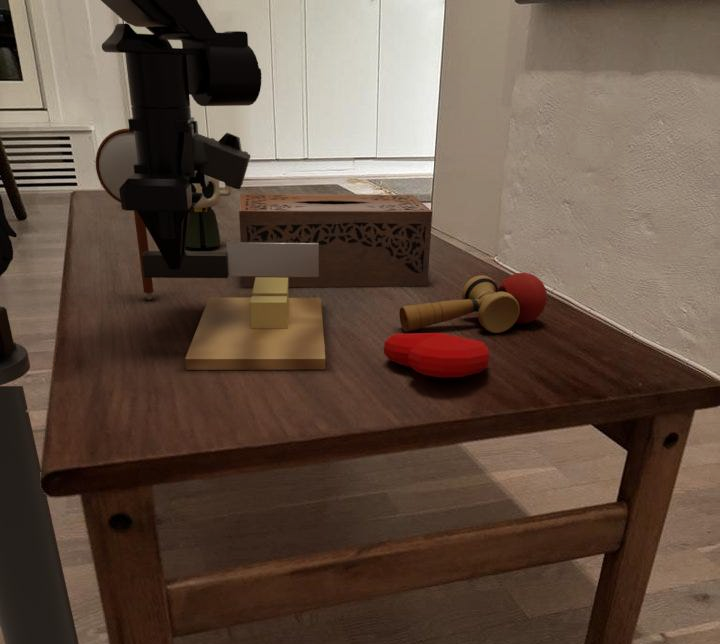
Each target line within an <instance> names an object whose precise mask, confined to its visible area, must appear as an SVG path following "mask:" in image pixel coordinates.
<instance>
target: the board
mask: <svg viewBox="0 0 720 644" xmlns="http://www.w3.org/2000/svg"><path fill="white" fill-rule="evenodd" d="M250 301H251V297H225V296H224V297H221V296H220V297H219V296H218V297H217V296H215V297H214V296H213V297H211V296H210V297H208V299H207V302H206V305H205V307H204V310H203V312H202V315H201V317H200V320H199V322H198V324H197V327H196V330H195V333H194V335H193V337H192V340H191V343H190V345H189V347H188V350H187V352H186V355H185V357H184V363H185V371H229V370H230V371H237V370H238V371H264V370H265V371H272V370H273V371H275V370H276V371H281V370H282V371H283V370H284V371H286V370H287V371H288V370H289V371H290V370H291V371H293V370H294V371H296V370H298V371H299V370H300V371H306V370H309V371H310V370H311V371H312V370H313V371H315V370H317V371H319V370H321V371H322V370H324V371H325V370H326V369H327V367H326V365H327V364H326V362H327V358H326V346H325V333H324V320H323V307H322V306H323V305H322V298H321V297H289V309H288V327H287V329H252V328H251V311H250Z"/></svg>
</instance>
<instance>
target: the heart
mask: <svg viewBox="0 0 720 644" xmlns="http://www.w3.org/2000/svg"><path fill="white" fill-rule="evenodd" d="M383 354H384V355H385V356H386V358H388V359H389V361H391V362H394V363H396V364H399V365H402V366H405V367H408V368H411V369H413V370H414V371H415V372H417V373H420V374H422V375H424V376H429V377H437V378H463V377H467V376H470V375H474V374H479V373H481V372H482V371H484V370H485V369H486V368H488V365H489V362H490V348H489V347H488V345H486V343H485V342H484V341H481V340H475V339H471V338H466V337H463V336H462V337H461V336H457V335H452V334H448V333H443V332H418V333H415V332H413V333H410V332H409V333H395V334H393V335H391V336H390V337H388V338H387V339H386V340H385V341H384V344H383Z"/></svg>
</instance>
